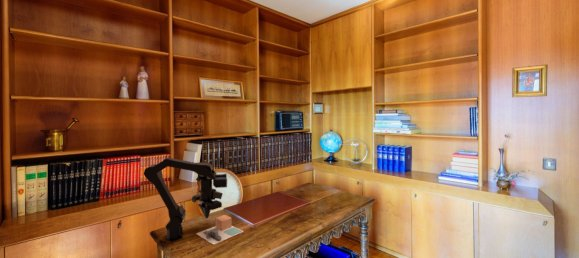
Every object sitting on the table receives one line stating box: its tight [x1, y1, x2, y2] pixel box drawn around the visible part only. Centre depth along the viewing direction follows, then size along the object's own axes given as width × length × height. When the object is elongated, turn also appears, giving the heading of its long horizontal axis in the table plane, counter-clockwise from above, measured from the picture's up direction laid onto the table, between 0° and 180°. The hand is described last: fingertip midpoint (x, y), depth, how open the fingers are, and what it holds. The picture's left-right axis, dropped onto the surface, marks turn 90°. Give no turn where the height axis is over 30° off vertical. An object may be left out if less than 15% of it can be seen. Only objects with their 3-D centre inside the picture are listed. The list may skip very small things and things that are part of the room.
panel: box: [195, 225, 244, 245], centre depth 134 cm, size 18×16×4 cm
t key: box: [206, 228, 221, 240], centre depth 127 cm, size 8×6×3 cm
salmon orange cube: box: [215, 214, 233, 230], centre depth 140 cm, size 6×6×5 cm
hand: (206, 217), depth 132 cm, fingers closed
